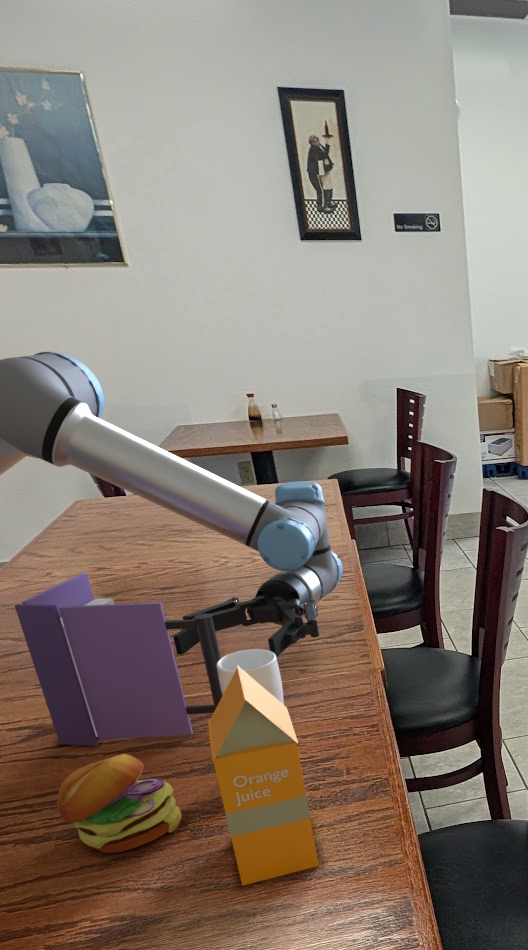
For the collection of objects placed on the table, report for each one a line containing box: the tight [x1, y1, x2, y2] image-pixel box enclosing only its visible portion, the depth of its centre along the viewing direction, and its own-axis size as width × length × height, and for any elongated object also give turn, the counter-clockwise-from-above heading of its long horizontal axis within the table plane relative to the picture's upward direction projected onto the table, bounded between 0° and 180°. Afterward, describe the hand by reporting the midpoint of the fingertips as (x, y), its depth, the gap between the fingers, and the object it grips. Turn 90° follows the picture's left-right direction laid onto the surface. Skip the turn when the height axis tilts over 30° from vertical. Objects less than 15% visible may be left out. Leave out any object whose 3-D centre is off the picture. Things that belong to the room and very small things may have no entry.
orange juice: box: [207, 665, 320, 887], centre depth 82 cm, size 8×9×20 cm
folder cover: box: [59, 601, 222, 741], centre depth 105 cm, size 2×18×18 cm, turn 95°
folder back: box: [14, 571, 115, 747], centre depth 110 cm, size 5×13×20 cm, turn 174°
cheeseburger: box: [56, 753, 183, 854], centre depth 89 cm, size 10×11×10 cm
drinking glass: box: [217, 648, 285, 706], centre depth 99 cm, size 7×7×15 cm
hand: (224, 647), depth 112 cm, fingers open, 13 cm apart
